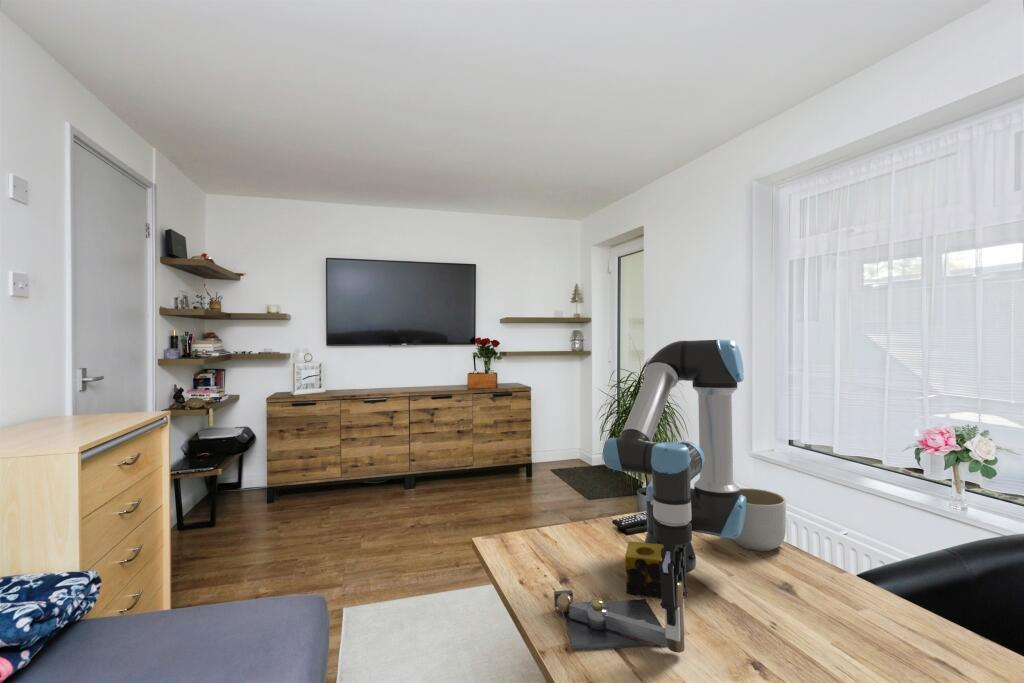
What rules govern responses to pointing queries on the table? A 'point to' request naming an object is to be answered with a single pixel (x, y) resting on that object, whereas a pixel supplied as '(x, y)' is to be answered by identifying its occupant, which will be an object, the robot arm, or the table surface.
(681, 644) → the lever
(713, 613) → the table surface
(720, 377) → the robot arm
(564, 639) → the table surface
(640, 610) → the base
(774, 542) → the planter
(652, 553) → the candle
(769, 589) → the table surface
